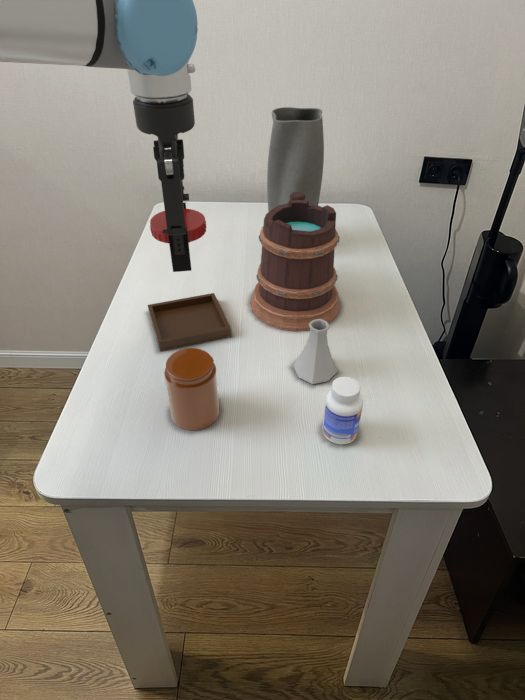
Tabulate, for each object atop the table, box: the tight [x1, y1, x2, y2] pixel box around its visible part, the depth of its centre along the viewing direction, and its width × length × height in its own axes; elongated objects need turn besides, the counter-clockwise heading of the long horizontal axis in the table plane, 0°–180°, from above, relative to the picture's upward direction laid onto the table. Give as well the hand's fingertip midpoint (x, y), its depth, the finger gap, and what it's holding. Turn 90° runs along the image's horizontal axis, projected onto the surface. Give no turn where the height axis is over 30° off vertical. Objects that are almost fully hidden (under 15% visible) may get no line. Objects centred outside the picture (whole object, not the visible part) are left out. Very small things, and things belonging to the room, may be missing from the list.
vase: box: [266, 106, 325, 213], centre depth 111 cm, size 12×12×30 cm
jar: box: [163, 347, 220, 431], centre depth 74 cm, size 8×8×10 cm
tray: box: [147, 292, 232, 352], centre depth 95 cm, size 14×13×2 cm
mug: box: [249, 192, 341, 332], centre depth 96 cm, size 18×23×20 cm
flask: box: [292, 319, 338, 385], centre depth 82 cm, size 7×7×10 cm
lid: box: [149, 208, 207, 244], centre depth 73 cm, size 8×8×2 cm
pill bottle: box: [321, 376, 364, 445], centre depth 72 cm, size 5×5×10 cm
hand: (181, 255), depth 76 cm, fingers closed on lid, 8 cm apart
